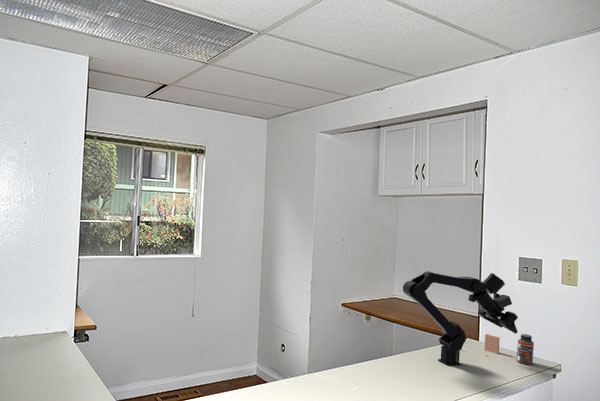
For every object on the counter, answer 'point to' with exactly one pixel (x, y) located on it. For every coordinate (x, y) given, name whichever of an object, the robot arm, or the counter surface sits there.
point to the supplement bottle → (525, 350)
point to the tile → (492, 343)
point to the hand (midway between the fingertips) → (509, 329)
